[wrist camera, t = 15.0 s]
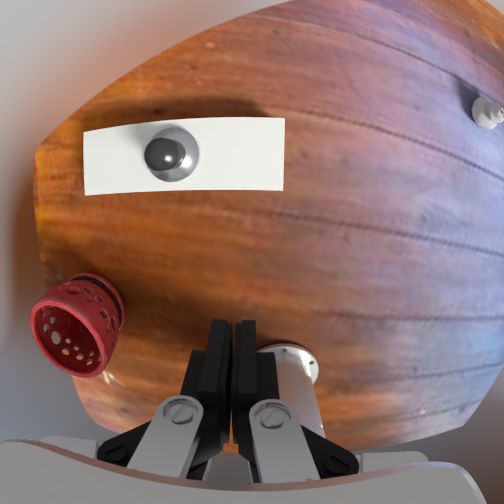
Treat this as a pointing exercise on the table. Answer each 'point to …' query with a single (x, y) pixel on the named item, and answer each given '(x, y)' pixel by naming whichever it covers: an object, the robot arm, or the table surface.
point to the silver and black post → (172, 154)
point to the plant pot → (79, 323)
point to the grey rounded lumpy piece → (487, 113)
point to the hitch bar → (210, 164)
